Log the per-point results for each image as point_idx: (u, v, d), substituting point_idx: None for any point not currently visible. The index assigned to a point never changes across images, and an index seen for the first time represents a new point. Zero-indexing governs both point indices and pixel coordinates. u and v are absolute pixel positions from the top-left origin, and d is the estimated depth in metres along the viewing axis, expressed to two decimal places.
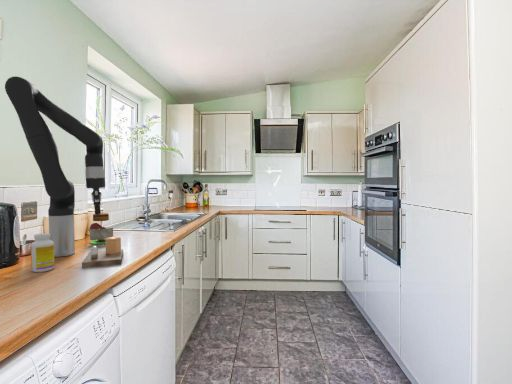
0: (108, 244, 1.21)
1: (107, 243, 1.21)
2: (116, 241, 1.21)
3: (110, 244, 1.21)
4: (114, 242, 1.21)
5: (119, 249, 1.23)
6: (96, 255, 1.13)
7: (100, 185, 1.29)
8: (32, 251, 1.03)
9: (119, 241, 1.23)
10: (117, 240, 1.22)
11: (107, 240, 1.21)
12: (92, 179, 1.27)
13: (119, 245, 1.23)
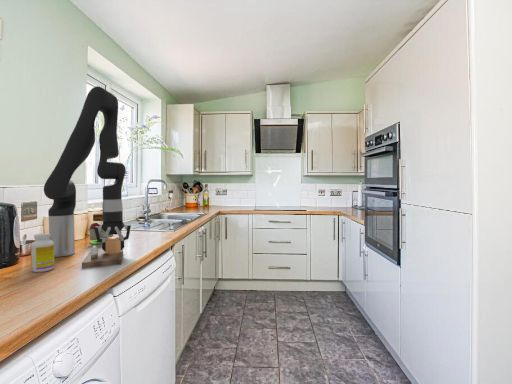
0: (108, 244, 1.21)
1: (107, 243, 1.21)
2: (115, 241, 1.21)
3: (110, 244, 1.21)
4: (114, 242, 1.21)
5: (119, 249, 1.23)
6: (96, 255, 1.13)
7: None
8: (32, 251, 1.03)
9: (119, 241, 1.23)
10: (117, 240, 1.22)
11: (107, 240, 1.21)
12: (121, 212, 1.23)
13: (119, 245, 1.23)
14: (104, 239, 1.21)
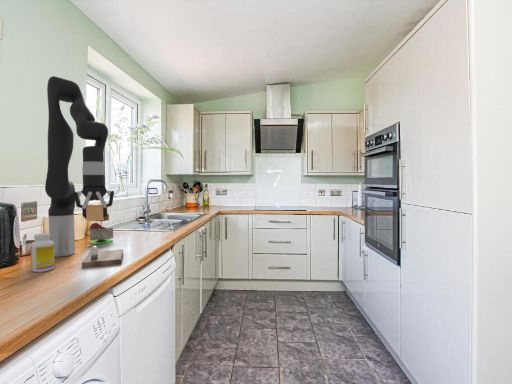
0: (89, 210, 1.11)
1: (88, 210, 1.11)
2: (97, 207, 1.11)
3: (91, 210, 1.11)
4: (95, 208, 1.11)
5: (101, 216, 1.13)
6: (96, 255, 1.13)
7: None
8: (32, 251, 1.03)
9: (102, 208, 1.13)
10: (99, 206, 1.12)
11: (88, 206, 1.11)
12: (104, 176, 1.13)
13: (101, 212, 1.13)
14: (84, 205, 1.11)
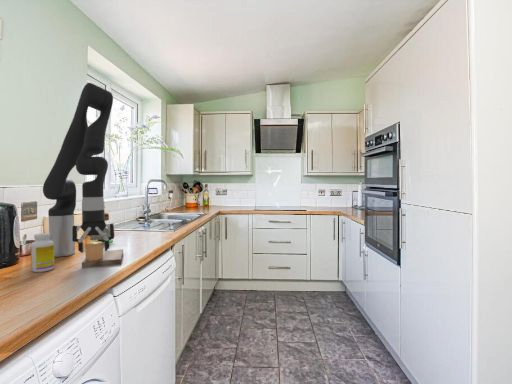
0: (88, 250, 1.11)
1: (87, 249, 1.11)
2: (96, 246, 1.11)
3: (90, 250, 1.10)
4: (95, 247, 1.11)
5: (100, 255, 1.13)
6: None
7: None
8: (32, 251, 1.03)
9: (101, 247, 1.13)
10: (98, 245, 1.12)
11: (87, 245, 1.11)
12: (103, 211, 1.13)
13: (100, 251, 1.13)
14: (80, 239, 1.11)
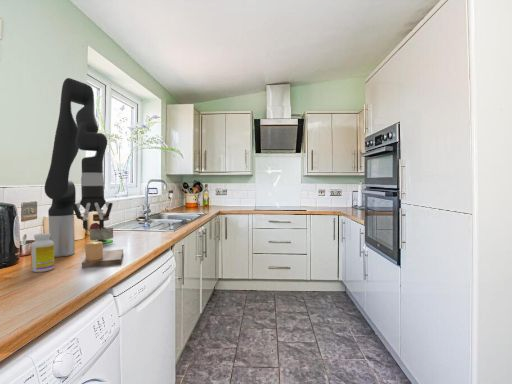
0: (88, 250, 1.11)
1: (87, 249, 1.11)
2: (96, 246, 1.11)
3: (90, 250, 1.10)
4: (95, 247, 1.11)
5: (100, 255, 1.13)
6: None
7: None
8: (32, 251, 1.03)
9: (101, 247, 1.13)
10: (98, 245, 1.12)
11: (87, 245, 1.11)
12: (103, 187, 1.13)
13: (100, 251, 1.13)
14: (85, 217, 1.11)
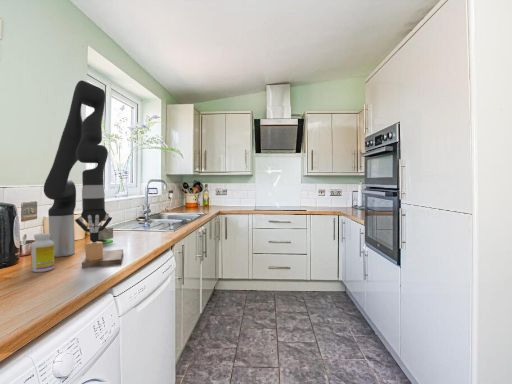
0: (88, 250, 1.11)
1: (87, 249, 1.11)
2: (96, 246, 1.11)
3: (90, 250, 1.10)
4: (95, 247, 1.11)
5: (100, 255, 1.13)
6: None
7: None
8: (32, 251, 1.03)
9: (101, 247, 1.13)
10: (98, 245, 1.12)
11: (87, 245, 1.11)
12: (103, 199, 1.13)
13: (100, 251, 1.13)
14: (92, 229, 1.12)
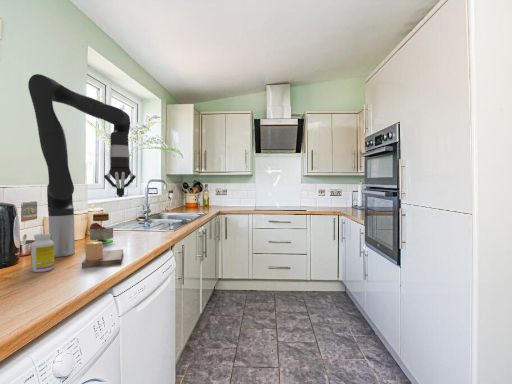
0: (88, 250, 1.11)
1: (87, 249, 1.11)
2: (96, 246, 1.11)
3: (90, 250, 1.10)
4: (95, 247, 1.11)
5: (100, 255, 1.13)
6: None
7: None
8: (32, 251, 1.03)
9: (101, 247, 1.13)
10: (98, 245, 1.12)
11: (87, 245, 1.11)
12: (128, 158, 1.27)
13: (100, 251, 1.13)
14: (119, 185, 1.26)
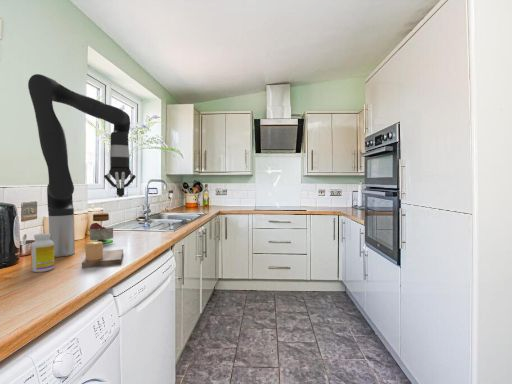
0: (88, 250, 1.11)
1: (87, 249, 1.11)
2: (96, 246, 1.11)
3: (90, 250, 1.10)
4: (95, 247, 1.11)
5: (100, 255, 1.13)
6: None
7: None
8: (32, 251, 1.03)
9: (101, 247, 1.13)
10: (98, 245, 1.12)
11: (87, 245, 1.11)
12: (128, 158, 1.27)
13: (100, 251, 1.13)
14: (119, 185, 1.26)
